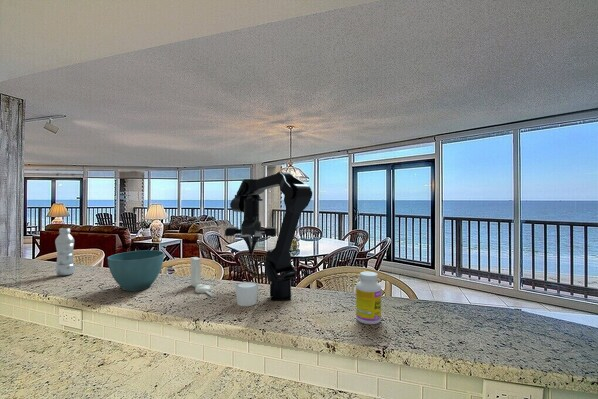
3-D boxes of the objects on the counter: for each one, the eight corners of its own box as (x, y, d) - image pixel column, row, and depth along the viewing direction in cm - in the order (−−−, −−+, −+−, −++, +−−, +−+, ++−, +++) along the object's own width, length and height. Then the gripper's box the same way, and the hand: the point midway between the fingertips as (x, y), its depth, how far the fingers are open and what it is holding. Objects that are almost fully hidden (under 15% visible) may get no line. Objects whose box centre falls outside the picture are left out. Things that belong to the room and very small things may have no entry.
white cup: (246, 313, 86) (246, 289, 85) (230, 308, 90) (230, 285, 90) (262, 306, 91) (262, 284, 91) (247, 301, 95) (247, 280, 95)
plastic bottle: (67, 277, 123) (66, 229, 123) (51, 277, 123) (50, 229, 123) (79, 273, 130) (78, 227, 129) (63, 273, 130) (63, 227, 129)
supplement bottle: (376, 327, 77) (376, 278, 77) (352, 321, 80) (352, 274, 80) (384, 318, 82) (384, 272, 82) (361, 313, 86) (361, 269, 86)
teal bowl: (132, 299, 98) (132, 261, 97) (95, 292, 104) (95, 257, 104) (174, 283, 114) (174, 252, 114) (140, 278, 121) (140, 248, 121)
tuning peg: (200, 283, 110) (200, 256, 110) (219, 295, 97) (219, 264, 97) (186, 285, 107) (186, 258, 107) (204, 298, 94) (204, 267, 93)
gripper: (220, 214, 103) (220, 259, 103) (274, 214, 103) (274, 259, 103) (228, 212, 114) (228, 252, 114) (276, 212, 114) (276, 252, 114)
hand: (251, 254), depth 111 cm, fingers closed
